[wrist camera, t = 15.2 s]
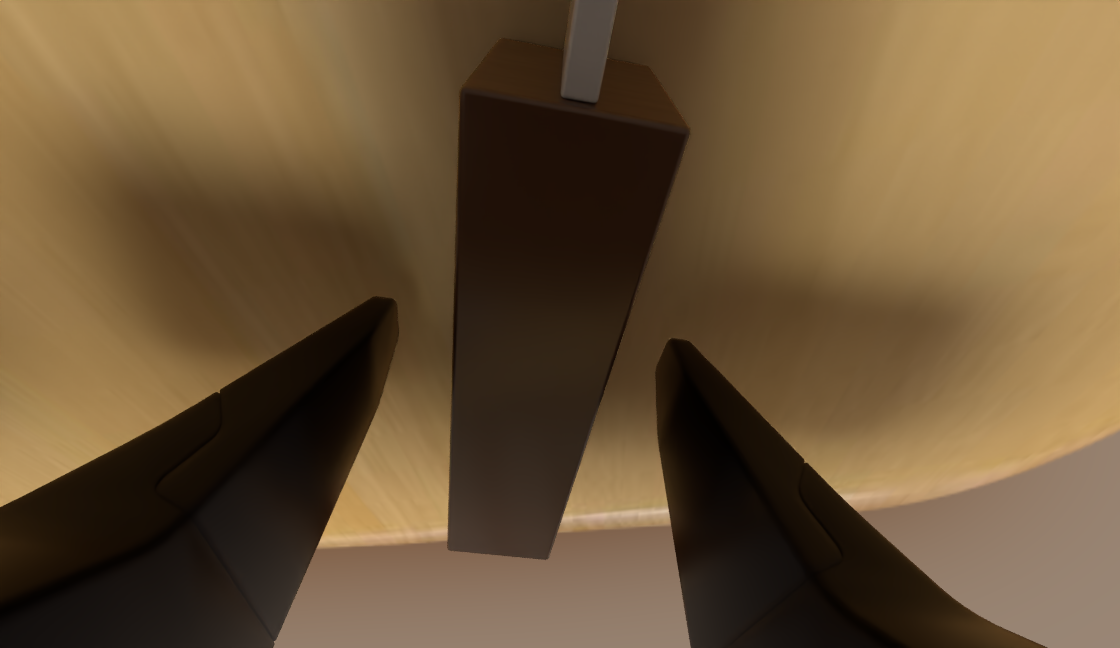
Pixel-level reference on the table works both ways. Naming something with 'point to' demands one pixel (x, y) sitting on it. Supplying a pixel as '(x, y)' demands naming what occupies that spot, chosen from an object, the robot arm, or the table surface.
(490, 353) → the knife
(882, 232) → the table surface
